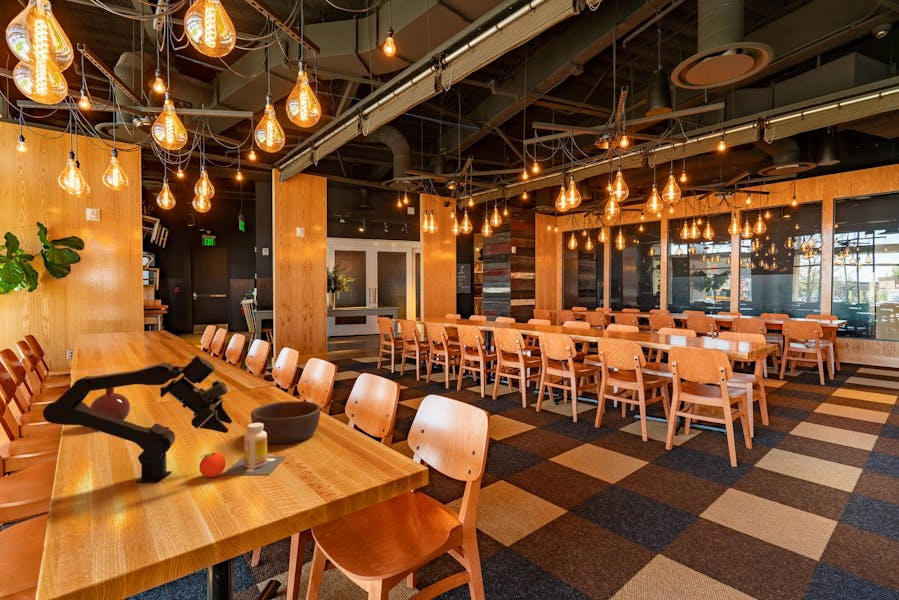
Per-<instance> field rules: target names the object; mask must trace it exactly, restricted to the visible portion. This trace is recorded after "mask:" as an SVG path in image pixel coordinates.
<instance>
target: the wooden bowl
mask: <svg viewBox="0 0 899 600" xmlns="http://www.w3.org/2000/svg"><path fill="white" fill-rule="evenodd" d="M321 410H322V409H321V406H320V405H319V404H318V403H315V402H311V401H310V402H309V401H304V400H303V401H301V400H300V401H299V400H293V401H291V400H289V401H279V402H278V401H277V402H273V403H268V404H265V405H261V406H258V407H257V408H255V409H253V410H252V411H251V413H250V420H251V424H252V423H263V424H264V428H263V431H265V432H266V433H267V445H269V444H270V445H287V444H293V443H295V444H296V443H299V442H301V441H304V440H307V439H309V438H311V437H312V436H313V435H314V434H315V432H316V431H317V429H318V425H319V423H320V417H321V412H322V411H321Z"/></svg>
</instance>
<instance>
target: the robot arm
mask: <svg viewBox="0 0 899 600" xmlns="http://www.w3.org/2000/svg"><path fill="white" fill-rule="evenodd" d="M215 370H216V368H215V366H214V365H213V364H212V363H211V362H210V361H209V360H207V359H205V358H203V357H201V356H199V354H198V355H196V356H195V357H193V359H192V360H191V361H190V362H189V363H188V364H187V365H186V366H178V365H173V364H171V363H170V362H159V363H156V364H153V365H149V366H147V367H144V368H143V367H142V368H141V369H137V370H128V371H123V372H122V371H121V372H116V373H115V372H114V373H107V374H100V375H93V376H91V375H90V376H89V375H87V376H83V377H81V378H79V379H77V380H75V382H74V383H73V384H72V385H71V387H70V388H69V389H67V390H66V391H65V392H63V394H62V395H60V396H59V398H57V399H56V400H55V401H53V402H52V401H51V403H48V404H47V405H46V406H45V407H44V409H43V411H42V416H43V418H44V420H45V422H48V423H50V424H55V425H61V426H62V425H63V426H82V427H84V428H88V429H90V430H95V431H98V432H100V433H104V434H107V435H109V436H113V437H116V438H119V439H123V440H126V441H128V442H129V441H130V442H131V443H134V444H136V445H137V446H138V447H139V448H141V450H142V452H141V453H140V454H139V455H138V456H137V459H138V461H139V464H140V465H141V468H140V471H141V473H140V474H141V475H140V476H141V477H139V478H138V479H136V480H135V483H159V482H161V481H162V480H164V479H165V478H166V477H168V476H170V475H171V474H172V471H171V470H170V471H169V470H168V471H167V452H168V451H169V450H170V449H171V447H172V446H173V444H175V441H176V434H175V432H174V431H173V430H171V429H170V427H169V426H164V425H161V424H159V423H156V422H155V423H154V424H153V425H152V426H149V427H148V426H147V427H146V426H142V425H138V424H135V423H132V422H129V421H126V420H125V419H124V420H121V419H118V418H115V417H112V416H109V415H106V414H103V413H99V412H96V411H94V410H92V409H90V406H88V405H87V404H86V403H85V402H83V401H84V400H85V398H86V397H87V396H88V395H89V393H90V392H93V391H100V390H106V389H107V388H114V389H115V388H118V387H119V388H120V387H126V386H133V385H134V386H135V385H143V386H161V387H160V388H159V390H160V395H159V396H160V397H161V398H163V397H164V396H166V395H167V394H170V395H171V396H172V397H174V398H175V399H176V400H177V401H179V402H180V403H181V404H182V405H181V407H183V408H184V409H185V408H186V407H187V409H189V410H190V411H191V412H192V413H193V414H192V415H193V417H192V419H191V425H192V426H193V427H194V428H195V429H204V430H210V431H216V432H218V433H219V432H220V433H224V434H227V433H228V432H229V428H228V427H227V426H226V425H225V424H229V425H230V424H232V423H233V420H232V419H231V416H230V415H229V414H228V413H227V411H226V410H225V408H224V399H223V396H225V395H226V394H227V392H228V391H229V390H228V387H227V385H226V383H225V382H224V381H220V380H215V381H213V382H212V384H211V387H209V388H208V389H204V388H201V387H200V388H198V387H197V386H195V385H194V384H196V383H197V384H201V383H202V382H204V381H205V380H206V379H207V378H208V377H209V376H211V374H212V373H213V372H215ZM182 374H183V375H182ZM180 376H181V377H180ZM178 377H180V378H179V379H177V378H178ZM169 381H170V382H169ZM168 382H169V383H168ZM167 383H168V384H167ZM165 384H167V385H165ZM163 385H164V386H163ZM224 423H225V424H224Z"/></svg>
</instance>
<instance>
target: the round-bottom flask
mask: <svg viewBox="0 0 899 600" xmlns="http://www.w3.org/2000/svg"><path fill="white" fill-rule="evenodd" d="M89 408H90V409H92V410H94V411H96V412H99V413H103V414H106V415H109V416H112V417H115V418H118V419H121V420H124V421H125V420H126V418H127V417H128V416H129V414H130V411H131V403H130V401H129V400H128V398H127V397H126V396H124V395H123V394H121V393H118V392H115V387H114V388H107V389H105V394H102V395H99V396H97V397H96V398H95V399H94V400H93V401H92V402H91V404H90V406H89Z"/></svg>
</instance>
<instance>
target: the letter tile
mask: <svg viewBox="0 0 899 600" xmlns="http://www.w3.org/2000/svg"><path fill="white" fill-rule="evenodd" d="M285 458H287V456H286V455H285V456H283V455H282V456H279V455H278V456H276V455H275V456H274V455H273V456H272V455H271V456H269V455H267V463H266V464H265V465H264V466H261V467H258V468H247V467H245V465H244V455H243V456H242V457H240V459H238V460H237V461H236V462H235V463H234V464H233V465H231V467H229V468H228V469H227V470H226V471H225V472H223V474H222V476H270V475H271V474H272V473H273V472H274V471H275V469H276V468H277V467H278V466H279V465H280V464H281V462H283V460H285Z"/></svg>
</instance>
